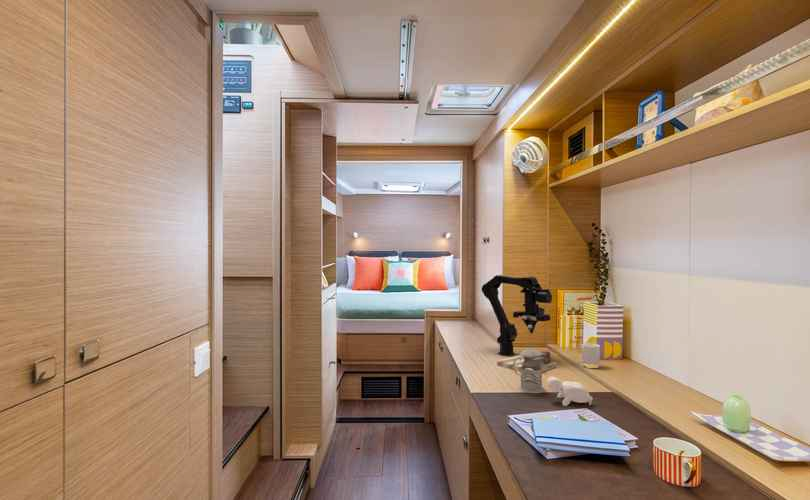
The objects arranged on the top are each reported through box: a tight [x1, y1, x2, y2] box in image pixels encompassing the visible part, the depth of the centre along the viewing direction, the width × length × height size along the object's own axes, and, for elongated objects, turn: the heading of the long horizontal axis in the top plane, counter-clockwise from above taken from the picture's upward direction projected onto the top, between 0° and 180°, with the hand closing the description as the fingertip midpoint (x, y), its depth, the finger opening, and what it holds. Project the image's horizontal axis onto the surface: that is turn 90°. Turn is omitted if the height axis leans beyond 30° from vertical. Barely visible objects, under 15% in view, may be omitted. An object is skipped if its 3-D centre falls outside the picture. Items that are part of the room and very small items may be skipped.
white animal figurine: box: [546, 376, 593, 407], centre depth 139 cm, size 9×8×15 cm
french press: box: [513, 325, 546, 394], centre depth 153 cm, size 10×12×25 cm
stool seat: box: [496, 354, 558, 373], centre depth 184 cm, size 20×18×6 cm
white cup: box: [580, 342, 601, 365], centre depth 181 cm, size 8×8×10 cm
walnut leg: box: [524, 351, 551, 363], centre depth 180 cm, size 16×4×4 cm, turn 125°
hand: (531, 333), depth 196 cm, fingers closed
